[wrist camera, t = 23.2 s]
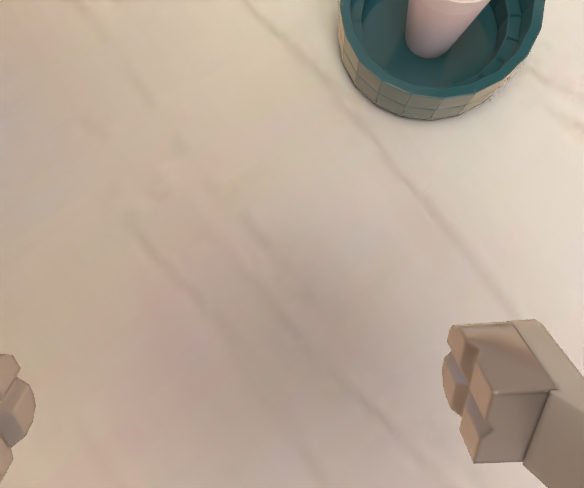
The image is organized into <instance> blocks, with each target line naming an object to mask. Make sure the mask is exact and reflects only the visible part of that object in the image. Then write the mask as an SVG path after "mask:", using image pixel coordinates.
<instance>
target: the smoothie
mask: <svg viewBox="0 0 584 488" xmlns="http://www.w3.org/2000/svg"><path fill="white" fill-rule="evenodd" d="M489 1H490V0H409V2H408V11H407V20H406V29H405V40H406V43H407V46H408V47H409V49H410V50H411V51H412V52H413V53H414V54H416V55H417V56H420V57H423V58H436V57H439V56H441V55H443V54H445V53H446V52H447V51H448V50H449V49H450V48H451V46H452V45H453V44H454V43H455V42H456V40H457V39H458V38H459V37H460V36H461V35H462V33H463V32H464V31H465V30H466V29H467V27H468V26H469V25H470V24H471V23H472V21H473V20H474V19H475V18H476V17H477V15H478V14H479V13H480V12H481V11H482V10H483V8H484V7H485V6H486V5H487V4H488V2H489Z"/></svg>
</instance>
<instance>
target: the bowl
mask: <svg viewBox="0 0 584 488" xmlns="http://www.w3.org/2000/svg"><path fill="white" fill-rule="evenodd" d="M408 2H409V0H340V10H339V28H338V39H339V45H340V51H341V57H342V62H343V64H344V66H345V68H346V69H347V71H348V73H349V75H350V77H351V79H352V81H353V82H354V84H355V86H356V87H357V88H358V89H359V90H360V91H362V92H363V93H364V94H365V95H366V96H367V97H368V98H369V99H370V100H371V101H372V102H373V103H374V104H376V105H378V106H380V107H382V108H385V109H387V110H389V111H391V112H393V113H395V114H397V115H400V116H404V117H412V118H419V119H427V120H432V119H438V118H444V117H450V116H456V115H459V114H461V113H463V112H465V111H467V110H469V109H471V108H473V107H475V106H477V105H479V104H481V103H483V102H484V101H485V100H486V99H487V98H488V97H489V96H490V95H491V94H492V93H493V92H494V91H495V90H496V89H497V88H498V87H499V86H500V85H501V84H502V83H503V82H504V81H505V80H506V79H507V78H508V77H509V76H510V75H511V74H512V73H513V71H514V70H515V69H516V68H517V67H518V66H519V65H520V64H521V63H522V61H523V60H524V59H525V58H526V57H527V56H528V54H529V52H530V50H531V48H532V46H533V44H534V42H535V40H536V38H537V36H538V34H539V32H540V30H541V27H542V20H543V12H544V4H545V0H490V1H489V2H488V4H487V5H486V6H485V7H484V8H483V10H482V11H481V12H480V13H479V14H478V15H477V17H476V18H475V19H474V20H473V21H472V23H471V24H470V25H469V26H468V27H467V29H466V30H465V31H464V32H463V33H462V35H461V36H460V37H459V38H458V39H457V40H456V42H455V43H454V44H453V45H452V46H451V48H450V49H449V50H448V51H447V52H446V53H445V54H443V55H441V56H439V57H436V58H423V57H420V56H417V55H416V54H414V53H413V52H412V51H411V50H410V49H409V47H408V46H407V43H406V40H405V29H406V20H407V11H408Z"/></svg>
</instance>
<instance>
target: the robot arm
mask: <svg viewBox="0 0 584 488" xmlns="http://www.w3.org/2000/svg"><path fill="white" fill-rule="evenodd" d="M447 342H448V344H449V346H450V348H451V352H450V353H449V354H448V355H447V356H446V357H445V358H444V361H443V368H442V377H443V387H444V390H445V394H446V398H447V400H448V403H449V405H450V408H451V409H452V410H453V411H455V412H456V413H457V414H459V415H460V416H461V417H462V421H461V425H460V432H461V434H462V437H463V439H464V442H465V444H466V446H467V449H468V451H469V453H470V456H471V458H472V461H473V463H501V462H523V465H524V466H525V467H526V468H527V469H528V470H529V471H530V472H531V473H533V474H534V475H535V476H536V477H537V478H538V479H539V480H540V481H541V482H542V483H543V484H544V485H546V486H547V487H548V488H584V377H583V376H582V375H581V373H580V372H579V371H578V370H577V368H576V367H575V366H574V364H573V363H572V362H571V361H570V359H569V358H568V357H567V356H566V354H565V353H564V352H563V350H562V349H561V348H560V347H559V345H558V344H557V343H556V342H555V340H554V339H553V338H552V336H551V335H550V334H549V333H548V331H547V330H546V329H545V327H544V326H543V325H542V324H541V323H540V322H539V321H537V320H535V319H529V320H516V321H507V322H492V323H478V324H464V325H452V327H451V329H450V330H449V334H448V339H447ZM19 371H20V366H19V365H18V363H17V361H16V360H15V358H14V356H13V355H8V354H0V483H1V481H2V479H3V477H4V476H5V474H6V472H7V470H8V468H9V466H10V464H11V463H12V461H13V454H12V450H11V447H13V446H14V445H15V444H16V443H18V442H19V441H20V440H21V439H23V438H24V437H25V436H26V434H27V432H28V430H29V428H30V426H31V424H32V422H33V418H34V412H35V407H36V404H35V398H34V393H33V391H32V389H31V387H30V385H29V384H27V383H26V382H24V381H22V380H21V379H19V378H18V377H17V375H18V373H19Z"/></svg>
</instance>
